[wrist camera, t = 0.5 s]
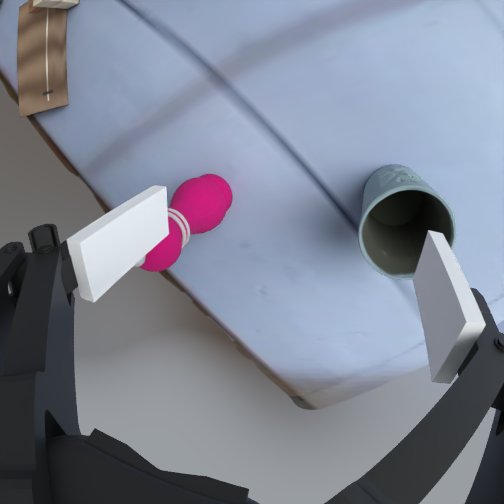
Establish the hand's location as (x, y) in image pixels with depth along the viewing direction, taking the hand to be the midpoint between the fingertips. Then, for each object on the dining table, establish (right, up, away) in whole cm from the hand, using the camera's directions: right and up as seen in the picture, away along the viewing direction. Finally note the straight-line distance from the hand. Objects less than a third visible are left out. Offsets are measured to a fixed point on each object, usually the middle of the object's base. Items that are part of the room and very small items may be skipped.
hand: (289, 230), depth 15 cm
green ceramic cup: (+17, +6, +24) cm, 29 cm away
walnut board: (-39, +36, +26) cm, 59 cm away
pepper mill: (-7, +7, +31) cm, 32 cm away
